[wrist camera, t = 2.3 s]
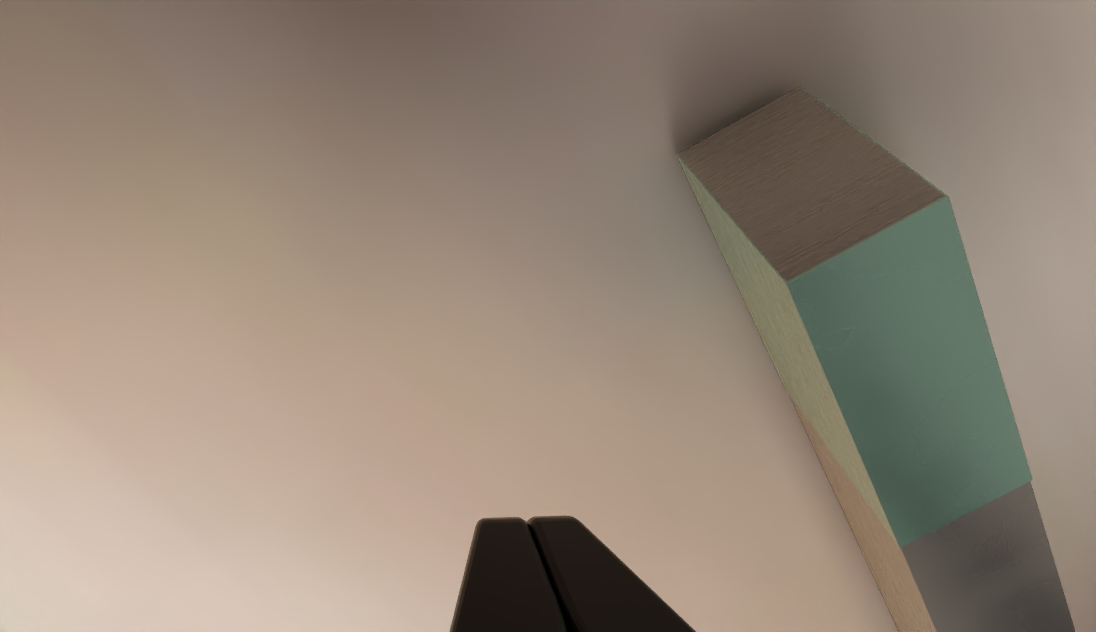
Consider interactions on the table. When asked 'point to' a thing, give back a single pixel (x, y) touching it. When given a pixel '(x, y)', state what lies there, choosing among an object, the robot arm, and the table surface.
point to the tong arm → (883, 363)
